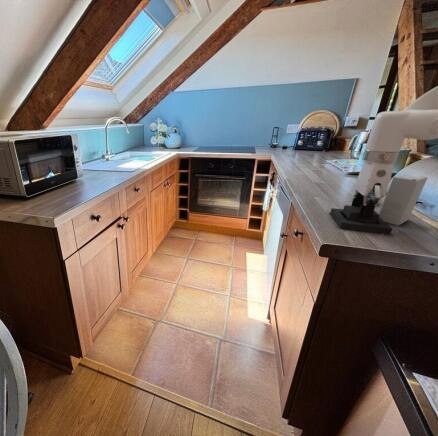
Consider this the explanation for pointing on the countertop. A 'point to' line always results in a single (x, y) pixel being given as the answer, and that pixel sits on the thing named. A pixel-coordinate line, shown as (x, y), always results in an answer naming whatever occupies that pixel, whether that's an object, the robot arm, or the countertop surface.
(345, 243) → the countertop surface
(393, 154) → the robot arm
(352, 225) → the frame
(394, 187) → the cosmetic box
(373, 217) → the black pad
